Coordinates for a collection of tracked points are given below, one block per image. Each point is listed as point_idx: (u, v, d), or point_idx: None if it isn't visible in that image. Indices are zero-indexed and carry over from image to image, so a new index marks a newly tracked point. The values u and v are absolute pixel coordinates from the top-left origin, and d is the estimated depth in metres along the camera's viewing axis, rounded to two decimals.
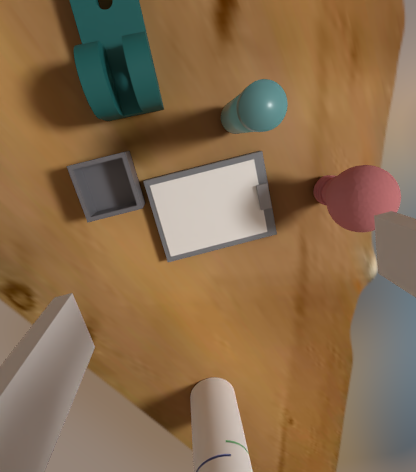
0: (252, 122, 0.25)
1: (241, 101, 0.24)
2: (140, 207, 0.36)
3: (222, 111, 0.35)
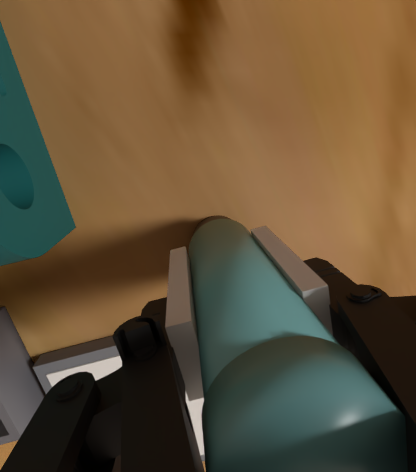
0: None
1: None
2: (17, 437, 0.17)
3: (190, 246, 0.16)
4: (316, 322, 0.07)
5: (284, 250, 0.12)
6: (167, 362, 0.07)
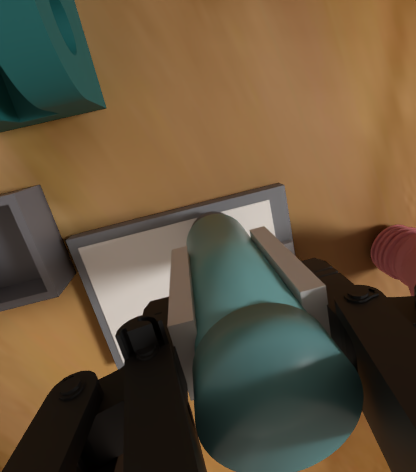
0: (240, 457, 0.07)
1: (200, 406, 0.07)
2: (54, 295, 0.19)
3: (188, 238, 0.17)
4: (289, 295, 0.09)
5: (282, 250, 0.12)
6: (170, 361, 0.07)
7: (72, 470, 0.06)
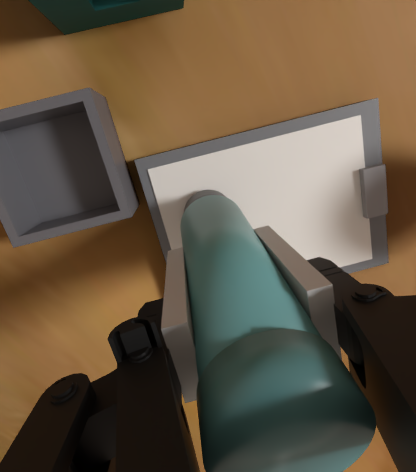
0: None
1: (209, 445, 0.06)
2: (127, 215, 0.17)
3: (182, 221, 0.16)
4: (299, 312, 0.08)
5: (287, 249, 0.12)
6: (162, 363, 0.07)
7: None
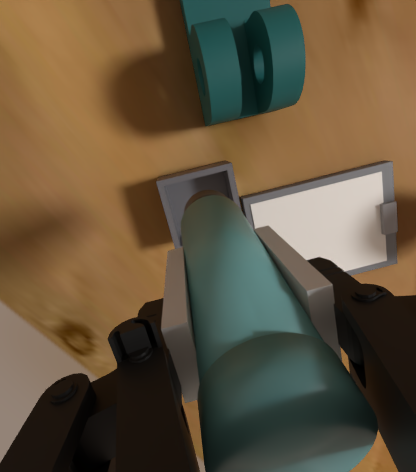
0: None
1: (210, 449, 0.06)
2: None
3: (183, 221, 0.16)
4: (301, 315, 0.08)
5: (287, 250, 0.12)
6: (163, 363, 0.07)
7: None
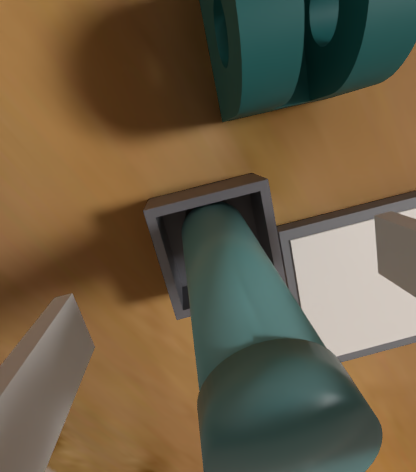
0: None
1: (210, 458, 0.06)
2: None
3: (184, 227, 0.16)
4: (302, 321, 0.08)
5: None
6: None
7: None
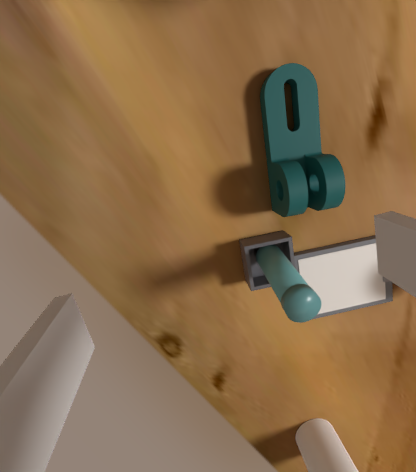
0: (293, 317, 0.32)
1: (287, 304, 0.32)
2: None
3: (258, 253, 0.42)
4: (305, 282, 0.34)
5: None
6: None
7: None
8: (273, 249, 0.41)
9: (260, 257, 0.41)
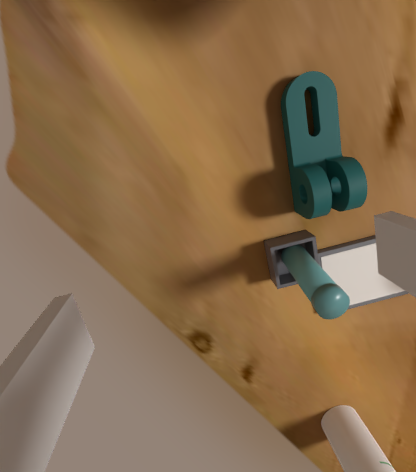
0: (323, 314, 0.35)
1: (318, 303, 0.34)
2: None
3: (284, 254, 0.44)
4: (333, 281, 0.36)
5: None
6: None
7: None
8: (298, 249, 0.43)
9: (286, 257, 0.43)
